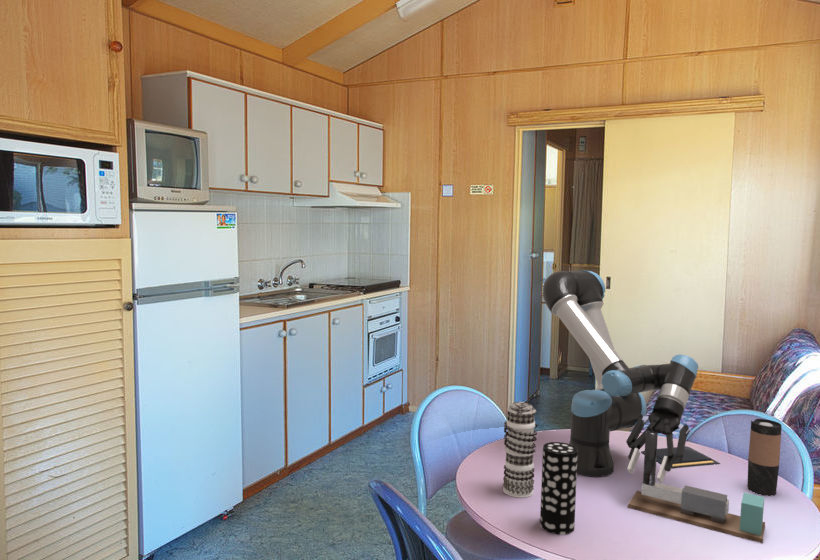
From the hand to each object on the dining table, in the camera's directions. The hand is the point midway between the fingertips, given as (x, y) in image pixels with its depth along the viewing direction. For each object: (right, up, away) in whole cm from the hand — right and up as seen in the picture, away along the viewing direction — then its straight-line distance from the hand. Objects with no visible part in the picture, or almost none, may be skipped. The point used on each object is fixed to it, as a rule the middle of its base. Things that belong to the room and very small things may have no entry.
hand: (644, 475), depth 157 cm
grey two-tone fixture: (+10, -6, -2) cm, 12 cm away
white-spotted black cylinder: (-26, -10, -9) cm, 29 cm away
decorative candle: (-32, -8, +10) cm, 34 cm away
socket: (+22, -10, -10) cm, 27 cm away
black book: (+26, -7, +38) cm, 46 cm away
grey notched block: (+13, -10, -4) cm, 17 cm away
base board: (+12, -10, -3) cm, 15 cm away
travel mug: (+39, -9, +14) cm, 42 cm away
